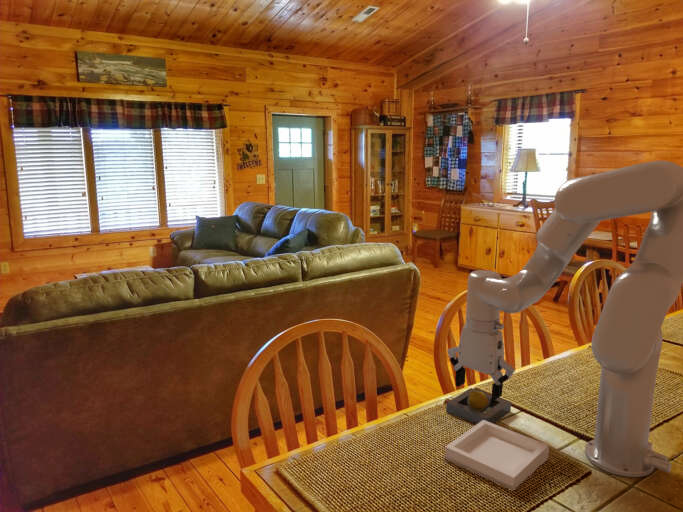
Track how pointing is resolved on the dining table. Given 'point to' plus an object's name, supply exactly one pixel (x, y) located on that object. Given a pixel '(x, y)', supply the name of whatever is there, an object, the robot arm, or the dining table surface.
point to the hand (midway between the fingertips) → (477, 391)
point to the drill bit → (478, 400)
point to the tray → (497, 454)
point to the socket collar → (462, 411)
